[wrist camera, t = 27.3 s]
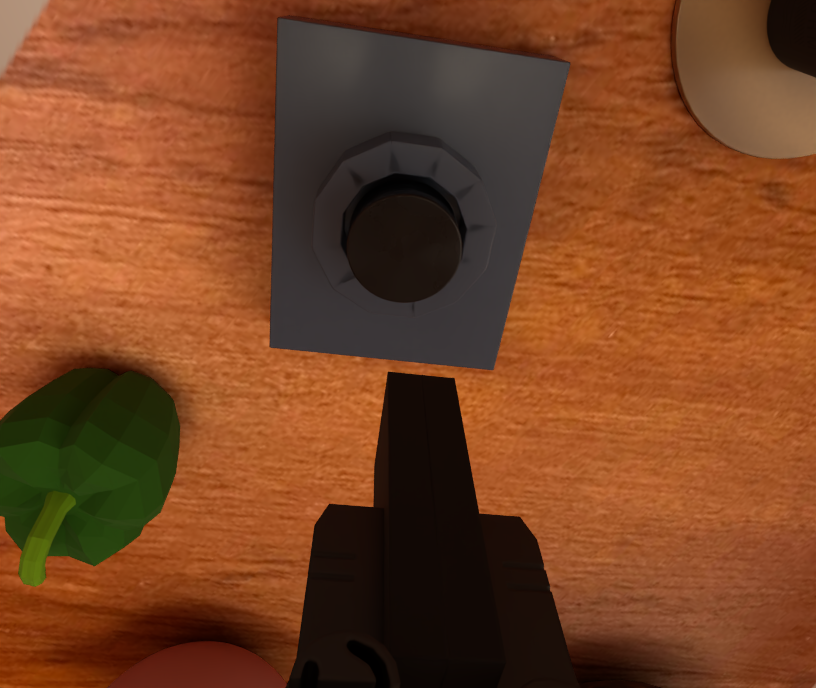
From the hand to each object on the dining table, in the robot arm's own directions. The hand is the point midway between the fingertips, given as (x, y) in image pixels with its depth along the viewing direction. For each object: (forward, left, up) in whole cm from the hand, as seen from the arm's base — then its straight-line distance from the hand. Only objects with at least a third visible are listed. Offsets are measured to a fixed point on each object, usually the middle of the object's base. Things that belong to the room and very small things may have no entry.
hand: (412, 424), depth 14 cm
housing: (0, 0, -16) cm, 16 cm away
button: (0, 0, -12) cm, 12 cm away
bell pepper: (+18, -7, -17) cm, 25 cm away
